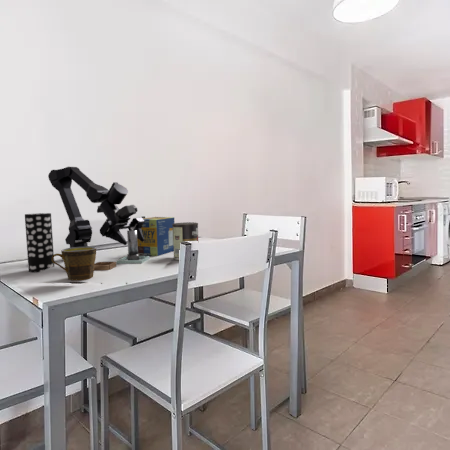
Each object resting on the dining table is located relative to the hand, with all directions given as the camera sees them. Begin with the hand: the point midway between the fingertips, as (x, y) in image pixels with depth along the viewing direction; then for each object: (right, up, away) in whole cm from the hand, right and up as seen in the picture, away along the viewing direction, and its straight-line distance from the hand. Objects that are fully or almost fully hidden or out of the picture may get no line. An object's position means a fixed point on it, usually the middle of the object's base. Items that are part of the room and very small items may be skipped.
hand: (135, 242), depth 140 cm
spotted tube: (-32, -10, -7) cm, 34 cm away
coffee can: (+18, -7, +10) cm, 22 cm away
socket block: (-8, -9, -11) cm, 16 cm away
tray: (-1, -8, +1) cm, 8 cm away
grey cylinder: (-1, -7, +1) cm, 8 cm away
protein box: (+4, -6, +26) cm, 27 cm away
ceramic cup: (-12, -11, -27) cm, 31 cm away
